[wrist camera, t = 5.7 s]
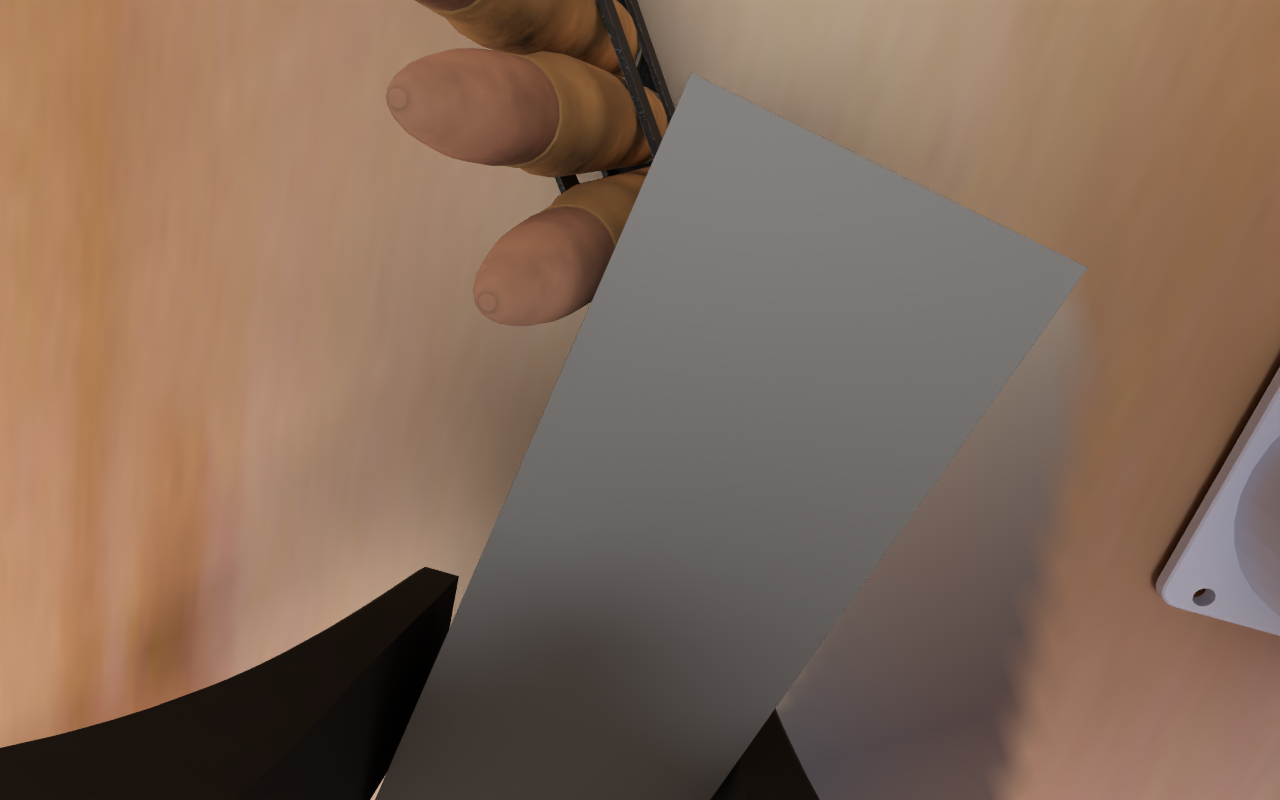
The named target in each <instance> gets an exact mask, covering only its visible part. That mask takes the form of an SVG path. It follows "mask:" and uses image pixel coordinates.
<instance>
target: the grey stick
mask: <svg viewBox="0 0 1280 800" xmlns="http://www.w3.org/2000/svg"><path fill="white" fill-rule="evenodd" d="M1087 269H1088V267H1086V266H1084V265H1082V264H1080V263H1077V262H1075V261H1073V260H1071V259H1069V258H1067V257H1065V256H1063V255H1061V254H1059V253H1057V252H1055V251H1053V250H1051V249H1049V248H1047V247H1045V246H1043V245H1041V244H1039V243H1037V242H1035V241H1033V240H1031V239H1029V238H1027V237H1025V236H1023V235H1021V234H1018V233H1016V232H1014V231H1012V230H1010V229H1008V228H1006V227H1004V226H1002V225H1000V224H998V223H996V222H994V221H992V220H990V219H988V218H986V217H984V216H982V215H980V214H978V213H976V212H974V211H972V210H970V209H968V208H966V207H964V206H962V205H959V204H957V203H955V202H953V201H951V200H949V199H947V198H945V197H943V196H941V195H939V194H937V193H935V192H933V191H931V190H929V189H927V188H925V187H923V186H921V185H919V184H917V183H915V182H913V181H911V180H909V179H907V178H905V177H903V176H900V175H898V174H896V173H894V172H892V171H890V170H888V169H886V168H884V167H882V166H880V165H878V164H876V163H874V162H872V161H870V160H868V159H866V158H864V157H862V156H860V155H858V154H856V153H854V152H852V151H850V150H848V149H846V148H844V147H841V146H839V145H837V144H835V143H833V142H831V141H829V140H827V139H825V138H823V137H821V136H819V135H817V134H815V133H813V132H811V131H809V130H807V129H805V128H803V127H801V126H799V125H797V124H795V123H793V122H791V121H789V120H787V119H785V118H782V117H780V116H778V115H776V114H774V113H772V112H770V111H768V110H766V109H764V108H762V107H760V106H758V105H756V104H754V103H752V102H750V101H748V100H746V99H744V98H742V97H740V96H738V95H736V94H734V93H732V92H730V91H728V90H726V89H723V88H721V87H719V86H717V85H715V84H713V83H711V82H709V81H707V80H705V79H703V78H701V77H699V76H697V75H695V74H693V73H691V75H690V77H689V79H688V82H687V84H686V86H685V89H684V91H683V93H682V95H681V98H680V100H679V102H678V105H677V107H676V109H675V112H674V114H673V116H672V118H671V121H670V123H669V125H668V128H667V130H666V132H665V135H664V137H663V139H662V141H661V144H660V146H659V148H658V151H657V153H656V155H655V158H654V160H653V162H652V164H651V167H650V169H649V171H648V174H647V176H646V178H645V181H644V183H643V185H642V187H641V190H640V192H639V194H638V197H637V199H636V201H635V204H634V206H633V208H632V210H631V213H630V215H629V217H628V220H627V222H626V224H625V227H624V229H623V231H622V233H621V236H620V238H619V240H618V243H617V245H616V247H615V250H614V252H613V254H612V256H611V259H610V261H609V263H608V266H607V268H606V270H605V272H604V275H603V277H602V279H601V282H600V284H599V286H598V289H597V291H596V293H595V295H594V298H593V300H592V302H591V305H590V307H589V309H588V312H587V314H586V316H585V318H584V321H583V323H582V325H581V328H580V330H579V332H578V335H577V337H576V339H575V341H574V344H573V346H572V348H571V351H570V353H569V355H568V358H567V360H566V362H565V364H564V367H563V369H562V371H561V374H560V376H559V378H558V381H557V383H556V385H555V387H554V390H553V392H552V394H551V397H550V399H549V401H548V404H547V406H546V408H545V410H544V413H543V415H542V417H541V420H540V422H539V424H538V427H537V429H536V431H535V433H534V436H533V438H532V440H531V443H530V445H529V447H528V450H527V452H526V454H525V456H524V459H523V461H522V463H521V466H520V468H519V470H518V472H517V475H516V477H515V479H514V482H513V484H512V486H511V489H510V491H509V493H508V495H507V498H506V500H505V502H504V505H503V507H502V509H501V512H500V514H499V516H498V518H497V521H496V523H495V525H494V528H493V530H492V532H491V535H490V537H489V539H488V541H487V544H486V546H485V548H484V551H483V553H482V555H481V558H480V560H479V562H478V564H477V567H476V569H475V571H474V574H473V576H472V578H471V581H470V583H469V585H468V587H467V590H466V592H465V594H464V597H463V599H462V601H461V604H460V606H459V608H458V610H457V613H456V615H455V617H454V620H453V622H452V624H451V627H450V629H449V631H448V633H447V636H446V638H445V640H444V643H443V645H442V647H441V650H440V652H439V654H438V656H437V659H436V661H435V663H434V666H433V668H432V670H431V672H430V675H429V677H428V679H427V682H426V684H425V686H424V689H423V691H422V693H421V695H420V698H419V700H418V702H417V705H416V707H415V709H414V712H413V714H412V716H411V718H410V721H409V723H408V725H407V728H406V730H405V732H404V735H403V737H402V739H401V741H400V744H399V746H398V748H397V751H396V753H395V755H394V758H393V760H392V762H391V764H390V767H389V769H388V771H387V774H386V776H385V778H384V781H383V783H382V785H381V787H380V790H379V792H378V794H377V797H376V799H375V800H710V799H711V798H712V797H713V795H714V794H715V792H716V791H717V790H718V788H719V787H720V785H721V784H722V783H723V781H724V780H725V778H726V777H727V775H728V774H729V773H730V771H731V770H732V768H733V767H734V766H735V764H736V763H737V761H738V760H739V759H740V757H741V756H742V754H743V753H744V752H745V750H746V749H747V747H748V746H749V745H750V743H751V742H752V740H753V739H754V737H755V736H756V735H757V733H758V732H759V730H760V729H761V728H762V726H763V725H764V723H765V722H766V721H767V719H768V718H769V716H770V715H771V714H772V712H773V711H774V709H775V708H776V707H777V705H778V704H779V702H780V701H781V699H782V698H783V697H784V695H785V694H786V692H787V691H788V690H789V688H790V687H791V685H792V684H793V683H794V681H795V680H796V678H797V677H798V676H799V674H800V673H801V671H802V670H803V669H804V667H805V666H806V664H807V663H808V661H809V660H810V659H811V657H812V656H813V654H814V653H815V652H816V650H817V649H818V647H819V646H820V645H821V643H822V642H823V640H824V639H825V638H826V636H827V635H828V633H829V632H830V631H831V629H832V628H833V626H834V625H835V623H836V622H837V621H838V619H839V618H840V616H841V615H842V614H843V612H844V611H845V609H846V608H847V607H848V605H849V604H850V602H851V601H852V600H853V598H854V597H855V595H856V594H857V593H858V591H859V590H860V588H861V587H862V585H863V584H864V583H865V581H866V580H867V578H868V577H869V576H870V574H871V573H872V571H873V570H874V569H875V567H876V566H877V564H878V563H879V562H880V560H881V559H882V557H883V556H884V555H885V553H886V552H887V550H888V549H889V547H890V546H891V545H892V543H893V542H894V540H895V539H896V538H897V536H898V535H899V533H900V532H901V531H902V529H903V528H904V526H905V525H906V524H907V522H908V521H909V519H910V518H911V517H912V515H913V514H914V512H915V511H916V509H917V508H918V507H919V505H920V504H921V502H922V501H923V499H924V498H925V497H926V495H927V494H928V493H929V491H930V490H931V488H932V487H933V486H934V484H935V483H936V481H937V480H938V479H939V477H940V476H941V474H942V473H943V471H944V470H945V469H946V467H947V466H948V464H949V463H950V462H951V460H952V459H953V457H954V456H955V454H956V453H957V452H958V450H959V449H960V448H961V446H962V445H963V443H964V442H965V440H966V439H967V438H968V436H969V435H970V433H971V432H972V430H973V429H974V428H975V426H976V425H977V424H978V422H979V421H980V419H981V418H982V417H983V415H984V414H985V412H986V411H987V409H988V408H989V407H990V405H991V404H992V402H993V401H994V400H995V398H996V397H997V395H998V394H999V393H1000V391H1001V390H1002V388H1003V387H1004V386H1005V384H1006V383H1007V381H1008V380H1009V379H1010V377H1011V376H1012V374H1013V373H1014V371H1015V370H1016V369H1017V367H1018V366H1019V364H1020V363H1021V361H1022V360H1023V359H1024V357H1025V356H1026V355H1027V353H1028V352H1029V350H1030V349H1031V348H1032V346H1033V345H1034V343H1035V342H1036V341H1037V339H1038V338H1039V336H1040V335H1041V333H1042V332H1043V331H1044V329H1045V328H1046V326H1047V325H1048V324H1049V322H1050V321H1051V319H1052V318H1053V317H1054V315H1055V314H1056V312H1057V311H1058V310H1059V308H1060V307H1061V305H1062V304H1063V303H1064V301H1065V300H1066V298H1067V297H1068V296H1069V294H1070V293H1071V291H1072V290H1073V288H1074V287H1075V286H1076V284H1077V283H1078V281H1079V280H1080V279H1081V277H1082V276H1083V274H1084V273H1085V272H1086V270H1087Z"/></svg>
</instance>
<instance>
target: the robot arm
mask: <svg viewBox="0 0 1280 800" xmlns="http://www.w3.org/2000/svg"><path fill="white" fill-rule="evenodd" d="M458 578H459V576H456V575H452V574H449V573H445V572H442V571H438V570H435V569H431V568H427V567H424V568H422V569H420V570H419V571H417V572H415V573H414V574H412V575H411V576H409V577H408V578H406V579H405V580H403V581H402V582H400V583H399V584H397V585H396V586H394V587H393V588H391V589H390V590H388V591H387V592H385V593H384V594H382V595H381V596H379V597H378V598H376V599H375V600H373V601H372V602H370V603H369V604H367V605H365V606H364V607H362V608H361V609H359V610H357V611H356V612H354V613H352V614H351V615H349V616H348V617H346V618H344V619H343V620H341V621H339V622H338V623H336V624H334V625H333V626H331V627H329V628H328V629H326V630H324V631H322V632H321V633H319V634H317V635H315V636H313V637H312V638H310V639H308V640H306V641H304V642H302V643H301V644H299V645H297V646H295V647H293V648H291V649H290V650H288V651H286V652H284V653H282V654H280V655H278V656H276V657H274V658H272V659H270V660H268V661H266V662H264V663H262V664H260V665H258V666H256V667H254V668H252V669H249V670H247V671H245V672H243V673H240V674H238V675H236V676H233V677H231V678H229V679H227V680H224V681H222V682H219V683H217V684H214V685H212V686H209V687H206V688H204V689H201V690H198V691H196V692H193V693H190V694H187V695H185V696H182V697H179V698H177V699H174V700H171V701H168V702H166V703H163V704H160V705H158V706H155V707H152V708H149V709H146V710H143V711H140V712H136V713H133V714H130V715H127V716H124V717H120V718H117V719H114V720H110V721H107V722H103V723H100V724H96V725H93V726H89V727H86V728H82V729H79V730H75V731H71V732H67V733H63V734H59V735H56V736H51V737H47V738H43V739H38V740H34V741H29V742H25V743H20V744H16V745H12V746H7V747H3V748H0V800H370V799H371V797H372V796H373V794H374V793H375V791H376V789H377V788H378V786H379V784H380V783H381V781H382V780H383V778H384V776H385V775H386V773H387V771H388V769H389V767H390V764H391V762H392V760H393V758H394V755H395V753H396V751H397V748H398V746H399V744H400V741H401V739H402V737H403V735H404V732H405V730H406V728H407V725H408V723H409V721H410V718H411V716H412V714H413V712H414V709H415V707H416V705H417V702H418V700H419V698H420V695H421V693H422V691H423V689H424V686H425V684H426V682H427V679H428V677H429V675H430V672H431V670H432V668H433V666H434V663H435V661H436V659H437V656H438V654H439V652H440V650H441V647H442V645H443V643H444V640H445V638H446V636H447V633H448V631H449V628H450V622H451V617H452V611H453V605H454V600H455V594H456V589H457V583H458ZM1203 588H1205V589H1206V591H1205V592H1204V593H1203V594H1202V595H1201V596H1198V597H1193V595H1194V594H1195V593H1196V592H1197V591H1198V590H1200V589H1203ZM1156 590H1157V593H1158V594H1159V595H1160V596H1161V598H1162V599H1163V600H1164V601H1165V602H1166V603H1167V604H1169V605H1171V606H1173V607H1176V608H1179V609H1183V610H1187V611H1190V612H1194V613H1198V614H1201V615H1205V616H1209V617H1212V618H1216V619H1220V620H1223V621H1227V622H1231V623H1234V624H1238V625H1241V626H1245V627H1249V628H1252V629H1256V630H1260V631H1263V632H1267V633H1271V634H1274V635H1278V636H1280V367H1279V369H1278V371H1277V372H1276V374H1275V376H1274V378H1273V379H1272V381H1271V383H1270V385H1269V386H1268V388H1267V390H1266V392H1265V393H1264V395H1263V397H1262V399H1261V400H1260V402H1259V404H1258V406H1257V407H1256V409H1255V411H1254V412H1253V414H1252V416H1251V418H1250V419H1249V421H1248V423H1247V425H1246V426H1245V428H1244V430H1243V432H1242V433H1241V435H1240V437H1239V439H1238V440H1237V442H1236V444H1235V446H1234V447H1233V449H1232V451H1231V452H1230V454H1229V456H1228V458H1227V459H1226V461H1225V463H1224V465H1223V466H1222V468H1221V470H1220V472H1219V473H1218V475H1217V477H1216V479H1215V480H1214V482H1213V484H1212V486H1211V487H1210V489H1209V491H1208V492H1207V494H1206V496H1205V498H1204V499H1203V501H1202V503H1201V505H1200V506H1199V508H1198V510H1197V512H1196V513H1195V515H1194V517H1193V519H1192V520H1191V522H1190V524H1189V526H1188V527H1187V529H1186V531H1185V532H1184V534H1183V536H1182V538H1181V539H1180V541H1179V543H1178V545H1177V546H1176V548H1175V550H1174V552H1173V553H1172V555H1171V557H1170V559H1169V560H1168V562H1167V564H1166V566H1165V567H1164V569H1163V571H1162V572H1161V574H1160V576H1159V578H1158V580H1157V583H1156ZM710 800H819V798H818V796H817V794H816V792H815V790H814V789H813V787H812V785H811V783H810V781H809V779H808V777H807V775H806V773H805V771H804V769H803V767H802V765H801V763H800V761H799V759H798V757H797V755H796V753H795V751H794V749H793V746H792V744H791V742H790V740H789V738H788V736H787V734H786V731H785V729H784V727H783V725H782V723H781V720H780V718H779V716H778V713H777V711H776V709H774V711H773V712H772V714H771V715H770V716H769V718H768V719H767V721H766V722H765V723H764V725H763V726H762V728H761V729H760V730H759V732H758V733H757V735H756V736H755V737H754V739H753V740H752V742H751V743H750V745H749V746H748V747H747V749H746V750H745V752H744V753H743V754H742V756H741V757H740V759H739V760H738V761H737V763H736V764H735V766H734V767H733V768H732V770H731V771H730V773H729V774H728V775H727V777H726V778H725V780H724V781H723V783H722V784H721V785H720V787H719V788H718V790H717V791H716V792H715V794H714V795H713V797H712V798H711V799H710Z"/></svg>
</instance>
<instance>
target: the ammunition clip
mask: <svg viewBox="0 0 1280 800" xmlns="http://www.w3.org/2000/svg"><path fill="white" fill-rule="evenodd" d="M415 1H417V2H418V3H420V4H422V5H423V6H425V7H427V8H428V9H430V10H432V11H434V12H435V13H437V14H439V15H441V16H443V17H445V18H446V19H447V20H448V21H449V23H450V24H451V25H452V26H453V27H454V28H455V29H456V30H457V31H458V32H459V33H460V34H462V35H464V36H466V37H467V38H469V39H471V40H472V41H474V42H476V43H478V44H479V45H481V46H483V47H486V48H489V49H492V50H495V51H492V50H486V49H453V50H448V51H444V52H440V53H436V54H433V55H429V56H425V57H423V58H421V59H418V60H416V61H414V62H412V63H410V64H408V65H407V66H406V67H405V68H403V69H402V70H401V71H400V72H399V73H397V74H396V75H395V76H394V78H393V79H392V81H391V83H390V85H389V86H388V88H387V93H386V100H387V105H388V107H389V109H390V112H391V114H392V116H393V117H394V119H395V120H396V121H397V122H398V123H399V124H400V125H401V126H402V128H403V129H404V130H405V131H406V132H407V133H408V134H410V135H411V136H413V137H414V138H416V139H417V140H419V141H420V142H422V143H423V144H425V145H427V146H429V147H430V148H432V149H434V150H436V151H438V152H440V153H442V154H444V155H446V156H449V157H451V158H455V159H459V160H463V161H468V162H473V163H479V164H485V165H491V166H508V167H514V168H521V169H522V170H524V171H526V172H528V173H530V174H534V175H540V176H546V177H555V179H556V182H557V184H558V187H559V189H560V192H561V195H559V196H558V197H557V198H556V199H555V200H554V202H553V203H552V205H551V206H549V207H548V208H546V209H545V210H543V211H542V212H540V213H538V214H536V215H533V216H531V217H529V218H528V219H526V220H525V221H523V222H522V223H520V224H519V225H517V226H516V227H514V228H513V229H511V230H510V231H509V232H507V233H506V234H505V235H504V236H502V237H501V238H500V239H499V240H498V242H497V243H496V244H495V245H494V247H493V248H492V249H491V251H490V252H489V254H488V255H487V256H486V258H485V259H484V261H483V263H482V265H481V266H480V268H479V270H478V272H477V275H476V280H475V284H474V289H473V291H474V300H475V303H476V305H477V308H478V309H479V310H480V312H481V313H482V314H483V315H484V316H485V317H487V318H489V319H491V320H492V321H495V322H497V323H500V324H506V325H513V326H529V325H535V324H541V323H547V322H552V321H555V320H558V319H560V318H563V317H565V316H567V315H569V314H572V313H573V312H575V311H577V310H578V309H580V308H582V307H583V306H585V305H587V304H588V303H590V302H591V301H592V300H593V298H594V295H595V293H596V291H597V289H598V286H599V284H600V282H601V279H602V277H603V275H604V272H605V270H606V268H607V266H608V263H609V261H610V259H611V256H612V254H613V252H614V250H615V247H616V245H617V243H618V240H619V238H620V236H621V233H622V231H623V229H624V227H625V224H626V222H627V220H628V217H629V215H630V213H631V210H632V208H633V206H634V204H635V201H636V199H637V197H638V194H639V192H640V190H641V187H642V185H643V183H644V181H645V178H646V176H647V174H648V171H649V169H650V167H651V164H652V162H653V160H654V158H655V155H656V153H657V151H658V148H659V146H660V144H661V141H662V139H663V137H664V135H665V132H666V130H667V128H668V125H669V123H670V121H671V118H672V116H673V114H674V112H675V109H674V106H673V103H672V100H671V97H670V94H669V92H668V89H667V86H666V83H665V80H664V77H663V74H662V71H661V69H660V66H659V63H658V60H657V57H656V54H655V51H654V48H653V46H652V43H651V40H650V37H649V34H648V31H647V28H646V25H645V23H644V20H643V17H642V14H641V11H640V8H639V5H638V2H637V0H415ZM595 171H601V172H602V175H603V178H601V179H597V180H593V181H589V182H585V183H579V181H578V179H577V177H576V174H581V173H588V172H595Z"/></svg>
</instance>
